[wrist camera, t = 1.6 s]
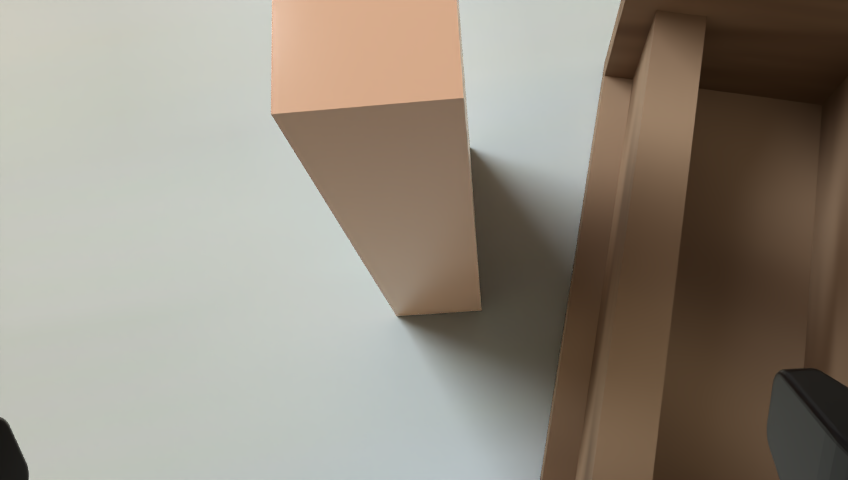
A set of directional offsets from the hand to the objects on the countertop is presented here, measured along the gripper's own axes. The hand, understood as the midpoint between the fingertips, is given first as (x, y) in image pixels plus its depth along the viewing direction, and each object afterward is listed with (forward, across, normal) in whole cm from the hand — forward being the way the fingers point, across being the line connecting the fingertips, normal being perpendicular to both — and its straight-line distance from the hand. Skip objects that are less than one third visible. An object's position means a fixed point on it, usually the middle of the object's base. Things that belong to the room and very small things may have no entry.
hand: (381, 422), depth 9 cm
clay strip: (+13, 0, +4) cm, 14 cm away
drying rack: (+11, -8, +6) cm, 15 cm away
